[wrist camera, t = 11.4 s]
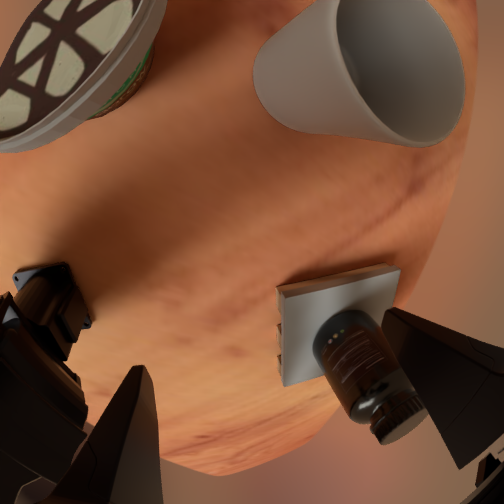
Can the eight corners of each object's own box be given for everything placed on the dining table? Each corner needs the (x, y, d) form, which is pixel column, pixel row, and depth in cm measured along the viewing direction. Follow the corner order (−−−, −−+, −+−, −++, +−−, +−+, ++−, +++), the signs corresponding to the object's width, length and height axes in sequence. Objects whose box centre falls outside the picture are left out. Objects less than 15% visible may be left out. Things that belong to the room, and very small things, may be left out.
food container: (106, 170, 17) (42, 212, 8) (44, 133, 14) (-46, 150, 5) (209, 28, 14) (237, -48, 5) (142, -6, 11) (123, -85, 3)
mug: (335, 150, 20) (444, 181, 10) (233, 107, 17) (295, 84, 7) (375, 35, 16) (476, 14, 6) (289, -15, 13) (366, -82, 3)
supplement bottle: (378, 324, 26) (446, 404, 16) (331, 366, 27) (384, 453, 17) (351, 293, 23) (437, 390, 13) (295, 344, 24) (354, 453, 14)
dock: (277, 370, 29) (284, 387, 27) (275, 282, 24) (285, 298, 22) (367, 342, 31) (377, 355, 29) (385, 258, 26) (400, 269, 24)
